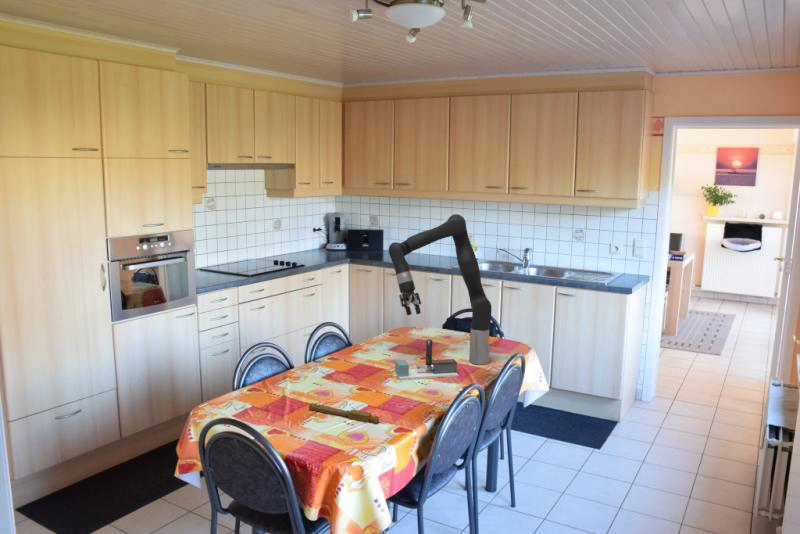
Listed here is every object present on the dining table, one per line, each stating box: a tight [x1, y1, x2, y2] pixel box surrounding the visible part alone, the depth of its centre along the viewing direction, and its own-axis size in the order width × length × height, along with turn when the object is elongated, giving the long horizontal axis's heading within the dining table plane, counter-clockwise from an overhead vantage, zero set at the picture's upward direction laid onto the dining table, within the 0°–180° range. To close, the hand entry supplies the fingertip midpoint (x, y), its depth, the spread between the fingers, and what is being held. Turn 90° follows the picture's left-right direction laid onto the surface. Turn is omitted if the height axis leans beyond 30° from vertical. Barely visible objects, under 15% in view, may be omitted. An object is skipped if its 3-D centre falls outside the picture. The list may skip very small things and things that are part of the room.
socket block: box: [394, 359, 410, 377], centre depth 297 cm, size 4×8×5 cm, turn 13°
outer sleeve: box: [431, 358, 458, 374], centre depth 302 cm, size 11×5×5 cm, turn 103°
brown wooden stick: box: [308, 402, 380, 424], centre depth 249 cm, size 3×3×30 cm
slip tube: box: [415, 338, 434, 371], centre depth 300 cm, size 17×4×15 cm, turn 103°
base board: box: [393, 368, 460, 381], centre depth 300 cm, size 28×11×1 cm, turn 103°
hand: (414, 314), depth 310 cm, fingers open, 8 cm apart
